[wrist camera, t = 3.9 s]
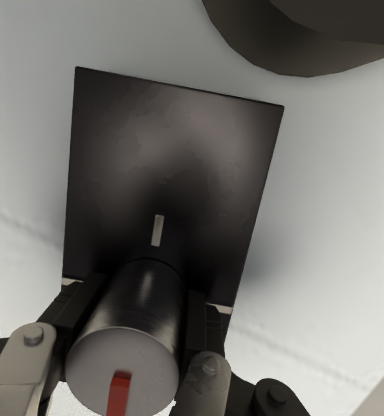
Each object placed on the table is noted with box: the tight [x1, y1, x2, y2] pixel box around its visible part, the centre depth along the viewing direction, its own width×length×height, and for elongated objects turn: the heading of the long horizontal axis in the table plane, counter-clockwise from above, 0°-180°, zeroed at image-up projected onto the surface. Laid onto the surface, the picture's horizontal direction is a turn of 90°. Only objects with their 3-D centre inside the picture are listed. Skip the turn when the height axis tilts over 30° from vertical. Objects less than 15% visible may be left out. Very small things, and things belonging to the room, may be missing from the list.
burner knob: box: [65, 259, 187, 416], centre depth 11 cm, size 4×4×5 cm
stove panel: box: [61, 66, 285, 342], centre depth 14 cm, size 13×8×3 cm, turn 170°
